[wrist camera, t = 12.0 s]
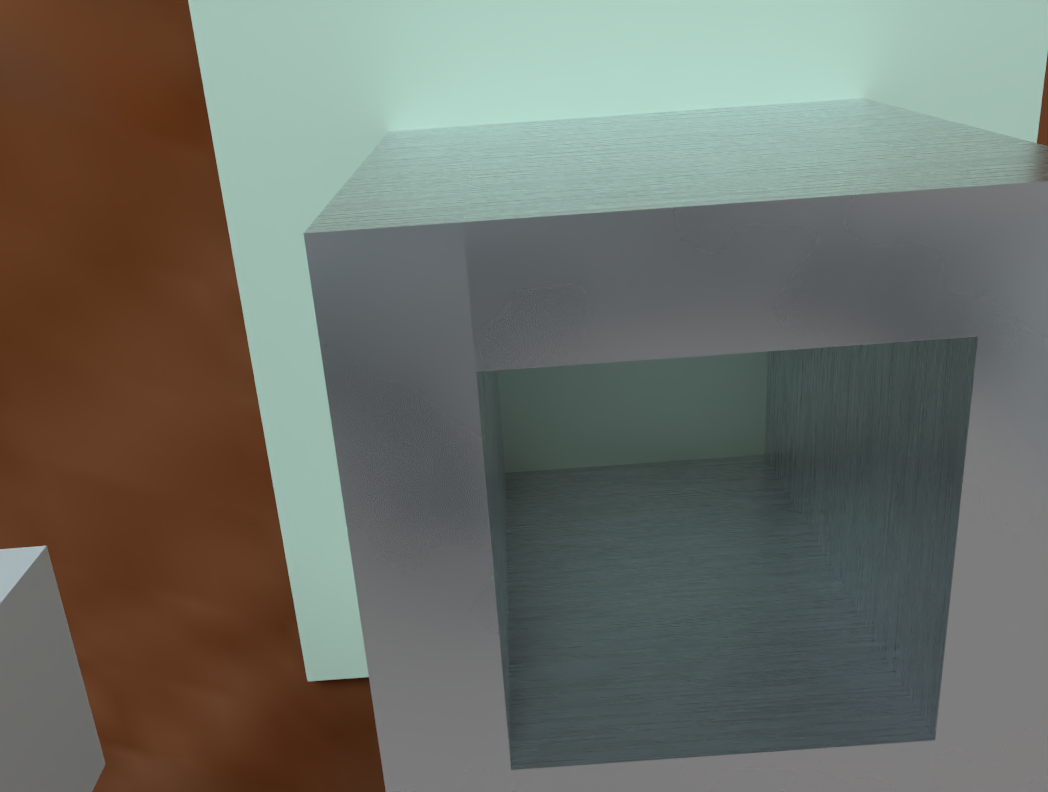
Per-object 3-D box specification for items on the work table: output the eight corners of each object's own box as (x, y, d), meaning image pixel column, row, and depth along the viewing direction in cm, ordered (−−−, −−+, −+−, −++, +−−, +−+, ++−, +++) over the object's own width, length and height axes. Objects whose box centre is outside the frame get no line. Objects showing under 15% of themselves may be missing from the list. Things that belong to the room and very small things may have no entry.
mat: (312, 663, 21) (307, 681, 21) (189, -51, 16) (179, -53, 16) (965, 617, 21) (977, 634, 21) (1048, -111, 16) (1067, -115, 16)
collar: (434, 546, 20) (398, 875, 12) (389, 131, 17) (303, 232, 9) (839, 518, 20) (1046, 828, 12) (863, 98, 17) (1153, 174, 9)
